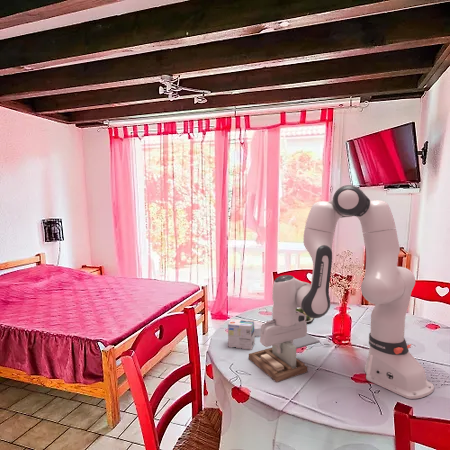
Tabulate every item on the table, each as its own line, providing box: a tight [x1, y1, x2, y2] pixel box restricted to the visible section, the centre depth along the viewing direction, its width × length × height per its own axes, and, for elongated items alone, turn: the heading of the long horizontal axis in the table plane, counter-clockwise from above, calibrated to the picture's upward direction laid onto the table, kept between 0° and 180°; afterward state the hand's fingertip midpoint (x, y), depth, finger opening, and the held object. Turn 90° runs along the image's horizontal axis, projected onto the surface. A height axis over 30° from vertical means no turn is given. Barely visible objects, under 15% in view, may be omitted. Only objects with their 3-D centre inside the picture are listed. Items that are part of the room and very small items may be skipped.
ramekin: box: [254, 320, 265, 337], centre depth 160 cm, size 9×9×4 cm
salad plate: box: [296, 308, 315, 325], centre depth 180 cm, size 19×18×5 cm
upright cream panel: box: [271, 341, 297, 369], centre depth 132 cm, size 12×2×9 cm, turn 27°
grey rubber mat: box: [293, 333, 320, 350], centre depth 153 cm, size 14×14×1 cm
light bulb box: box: [227, 318, 256, 351], centre depth 147 cm, size 11×7×11 cm, turn 74°
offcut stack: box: [260, 354, 284, 373], centre depth 129 cm, size 11×3×3 cm, turn 27°
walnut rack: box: [248, 347, 308, 383], centre depth 131 cm, size 19×14×2 cm
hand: (283, 351), depth 132 cm, fingers closed on upright cream panel, 2 cm apart
